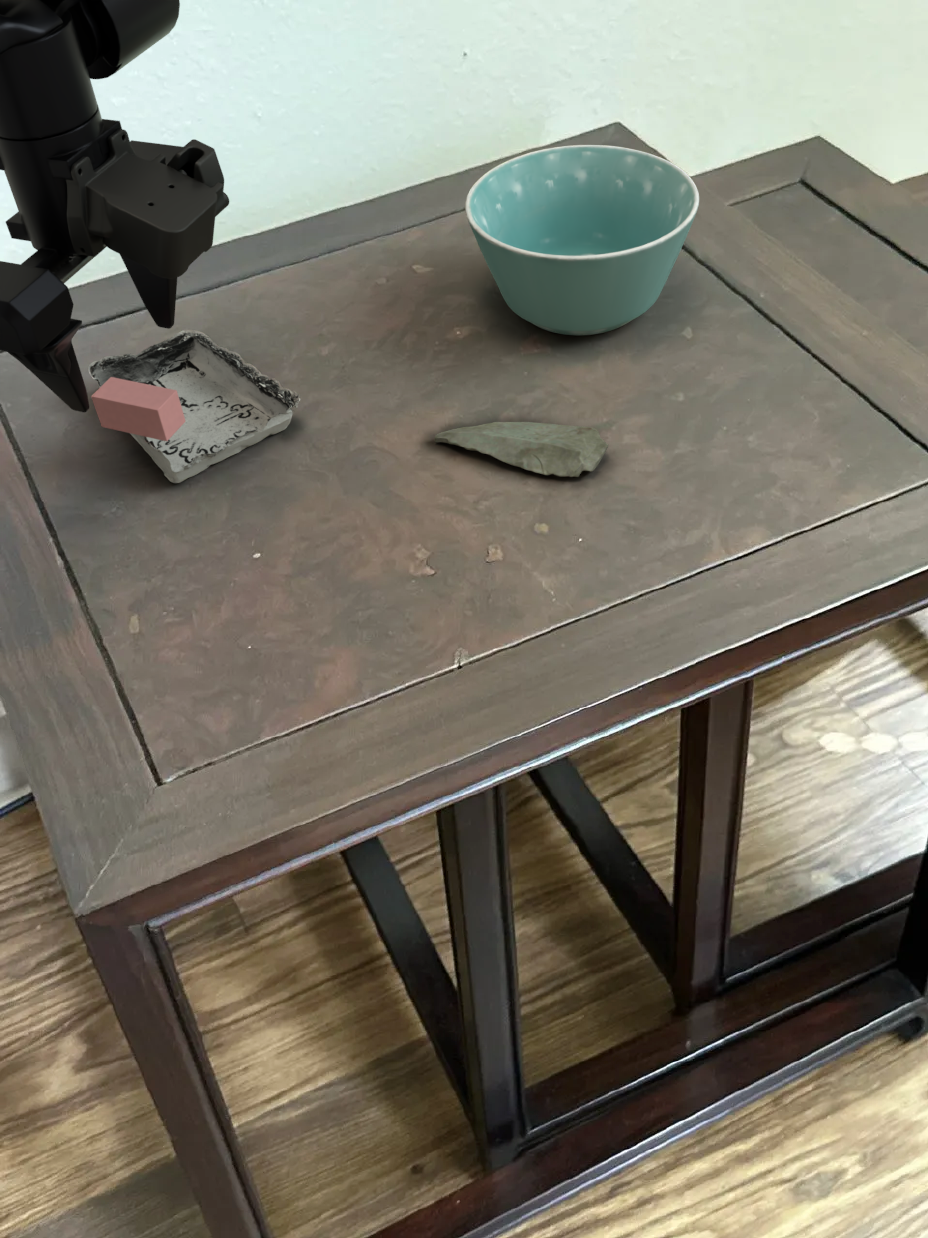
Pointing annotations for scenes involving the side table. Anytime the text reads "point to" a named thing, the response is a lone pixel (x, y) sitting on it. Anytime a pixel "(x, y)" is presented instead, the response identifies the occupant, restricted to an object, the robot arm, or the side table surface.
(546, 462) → the stone
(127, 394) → the eraser
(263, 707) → the side table surface
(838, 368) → the side table surface
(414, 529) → the side table surface
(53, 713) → the side table surface
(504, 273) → the bowl
